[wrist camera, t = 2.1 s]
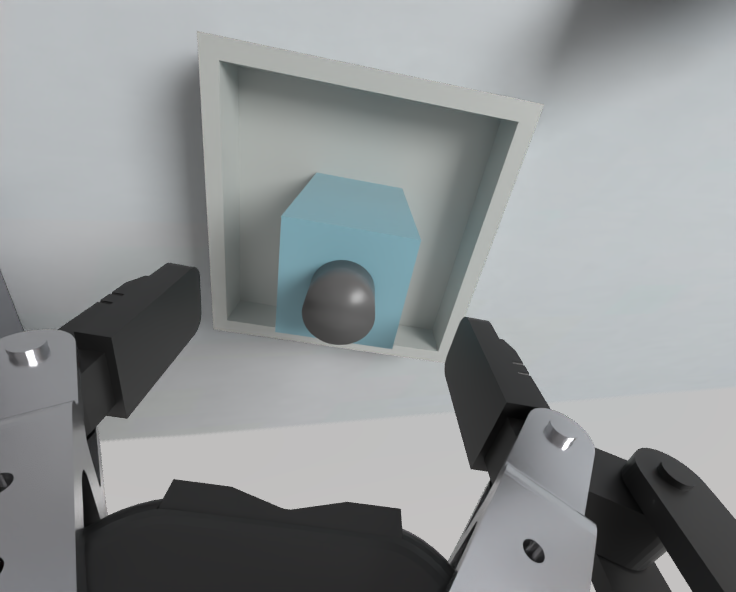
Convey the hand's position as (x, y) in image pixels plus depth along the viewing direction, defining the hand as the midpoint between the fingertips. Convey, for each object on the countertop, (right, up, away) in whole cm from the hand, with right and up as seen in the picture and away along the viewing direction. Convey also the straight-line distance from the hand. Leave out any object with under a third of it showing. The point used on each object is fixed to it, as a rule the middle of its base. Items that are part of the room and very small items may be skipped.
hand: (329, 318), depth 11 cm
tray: (0, +5, +7) cm, 8 cm away
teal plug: (0, +4, +6) cm, 8 cm away
